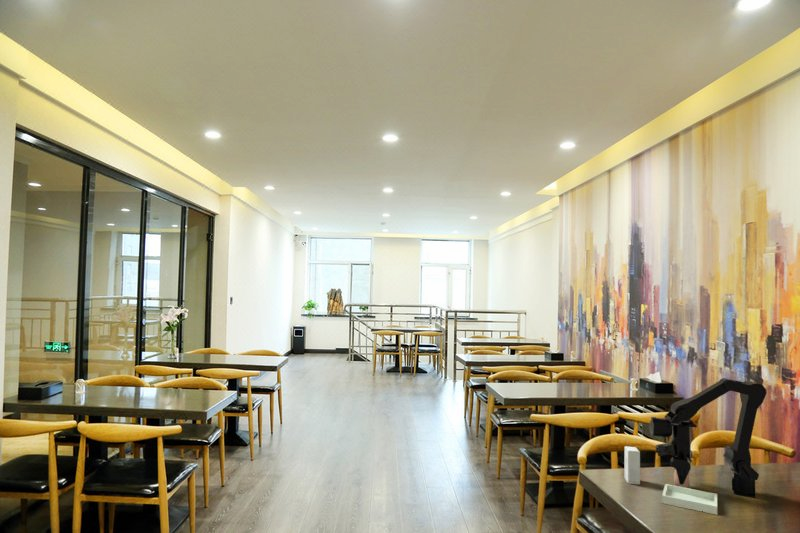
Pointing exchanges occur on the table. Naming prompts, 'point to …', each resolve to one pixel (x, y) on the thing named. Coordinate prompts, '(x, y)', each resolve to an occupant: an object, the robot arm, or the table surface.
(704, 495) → the tray
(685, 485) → the cup
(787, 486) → the table surface
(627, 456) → the skincare box
